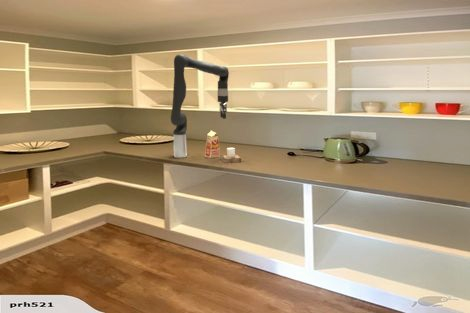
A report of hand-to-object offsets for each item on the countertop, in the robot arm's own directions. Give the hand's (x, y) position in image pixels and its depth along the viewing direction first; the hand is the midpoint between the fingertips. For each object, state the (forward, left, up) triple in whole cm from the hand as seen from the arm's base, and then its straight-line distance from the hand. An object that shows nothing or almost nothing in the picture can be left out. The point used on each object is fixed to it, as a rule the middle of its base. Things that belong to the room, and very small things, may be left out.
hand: (223, 118), depth 273 cm
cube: (+4, -7, -27) cm, 28 cm away
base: (+4, -7, -30) cm, 31 cm away
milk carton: (-6, +12, -30) cm, 33 cm away
